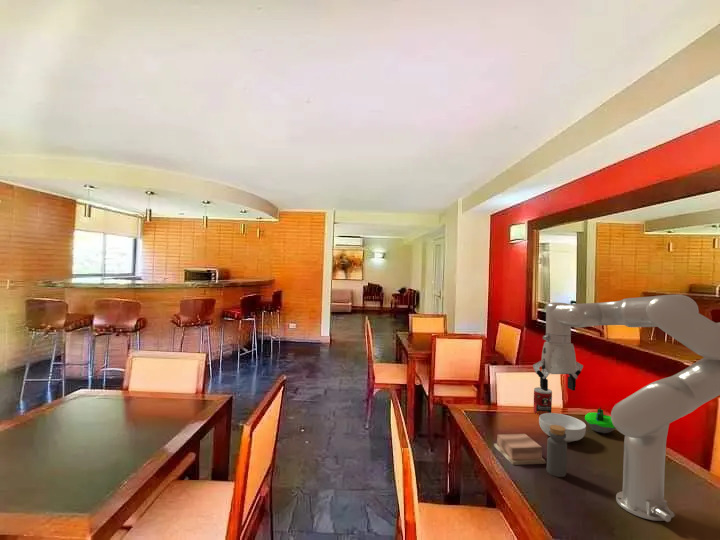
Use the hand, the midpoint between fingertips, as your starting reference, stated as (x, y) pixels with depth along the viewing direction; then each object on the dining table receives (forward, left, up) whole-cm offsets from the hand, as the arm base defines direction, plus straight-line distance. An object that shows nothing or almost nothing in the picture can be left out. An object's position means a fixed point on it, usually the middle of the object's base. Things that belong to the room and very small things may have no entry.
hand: (557, 389), depth 133 cm
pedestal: (+10, +8, -27) cm, 29 cm away
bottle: (-3, +2, -27) cm, 27 cm away
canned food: (+48, -25, -27) cm, 60 cm away
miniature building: (+27, -38, -27) cm, 54 cm away
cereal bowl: (+22, -17, -27) cm, 39 cm away
